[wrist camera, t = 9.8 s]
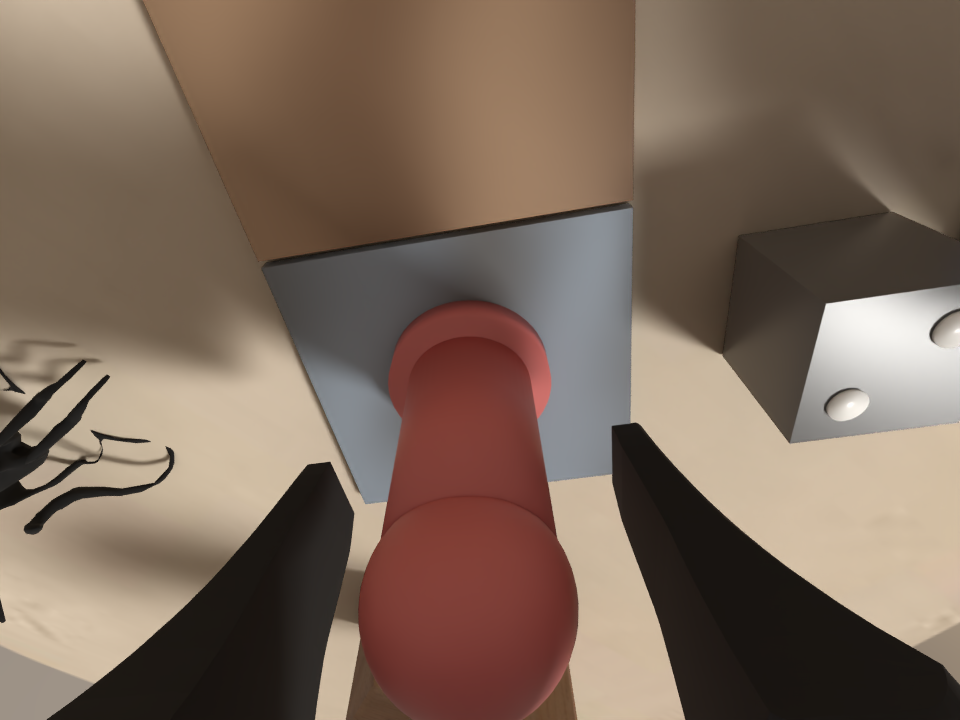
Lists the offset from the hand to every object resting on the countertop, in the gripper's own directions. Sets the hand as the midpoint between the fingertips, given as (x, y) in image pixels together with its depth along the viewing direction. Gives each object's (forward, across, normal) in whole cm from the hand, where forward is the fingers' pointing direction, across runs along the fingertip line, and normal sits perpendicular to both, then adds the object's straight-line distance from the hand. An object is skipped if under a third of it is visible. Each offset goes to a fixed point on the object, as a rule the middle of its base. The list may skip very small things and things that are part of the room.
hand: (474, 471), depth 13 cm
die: (+4, -10, -2) cm, 11 cm away
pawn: (+4, 0, -1) cm, 4 cm away
